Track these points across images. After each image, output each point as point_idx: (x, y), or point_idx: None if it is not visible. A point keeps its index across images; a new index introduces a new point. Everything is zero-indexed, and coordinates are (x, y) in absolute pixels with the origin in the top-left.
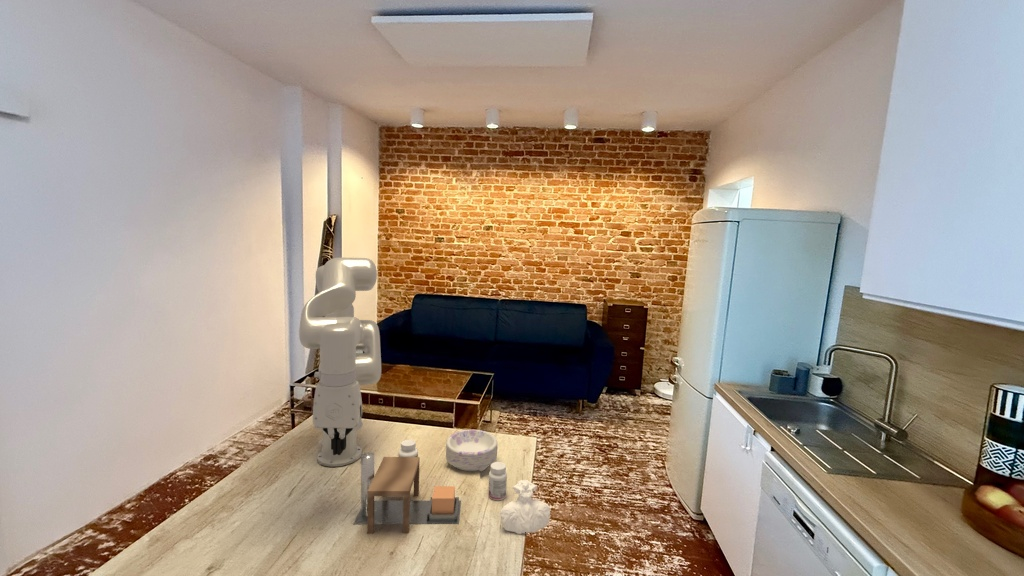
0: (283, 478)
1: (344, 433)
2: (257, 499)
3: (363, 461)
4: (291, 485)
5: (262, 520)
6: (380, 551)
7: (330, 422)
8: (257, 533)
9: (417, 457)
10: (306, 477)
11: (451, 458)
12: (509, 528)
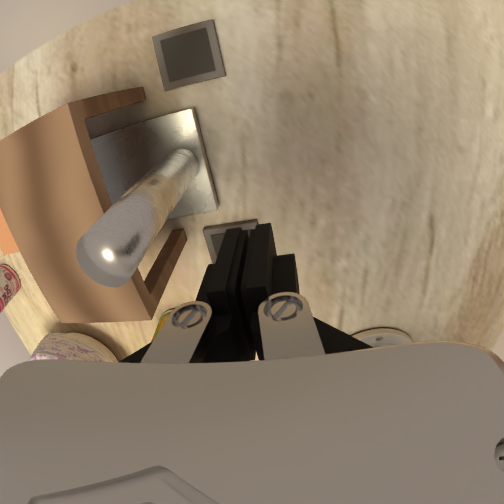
0: (461, 275)
1: (158, 337)
2: (487, 197)
3: (109, 223)
4: (439, 255)
5: (448, 119)
6: (96, 61)
7: (237, 436)
8: (433, 70)
9: (64, 321)
10: (417, 287)
11: (90, 356)
12: None
